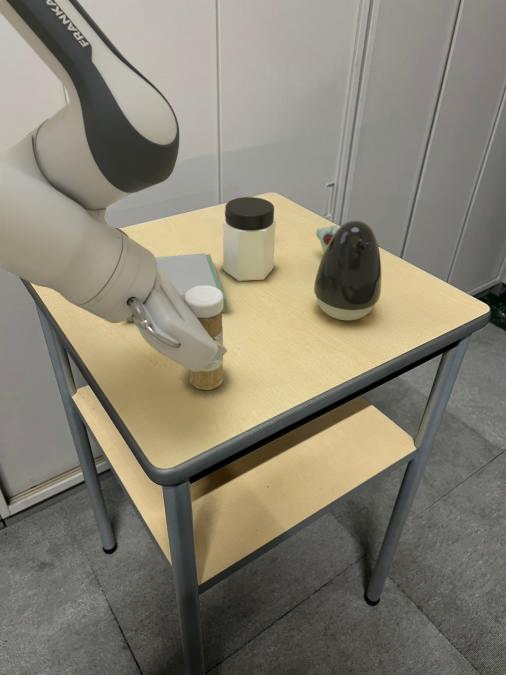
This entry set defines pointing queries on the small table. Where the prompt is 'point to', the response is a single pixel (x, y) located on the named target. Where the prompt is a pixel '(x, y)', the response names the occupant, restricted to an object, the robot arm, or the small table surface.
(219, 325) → the sprinkles bottle
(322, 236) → the robot head
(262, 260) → the jar
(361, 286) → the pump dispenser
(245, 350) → the small table surface
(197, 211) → the small table surface
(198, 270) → the kitchen scale
